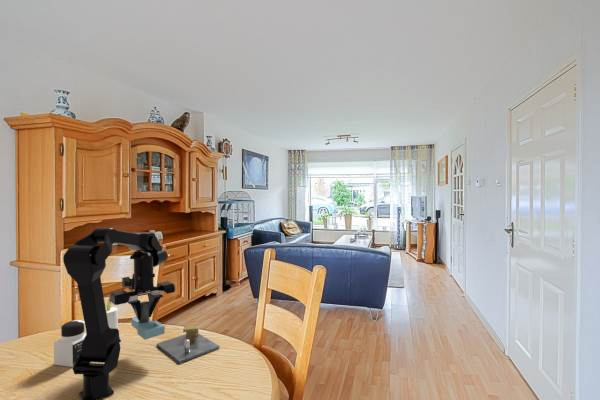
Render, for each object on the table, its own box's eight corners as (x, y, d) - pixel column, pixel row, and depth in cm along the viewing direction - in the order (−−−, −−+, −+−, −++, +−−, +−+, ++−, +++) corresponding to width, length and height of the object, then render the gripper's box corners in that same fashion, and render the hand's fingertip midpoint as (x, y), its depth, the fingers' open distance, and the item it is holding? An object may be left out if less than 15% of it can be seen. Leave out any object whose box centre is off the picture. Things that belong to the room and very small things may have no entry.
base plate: (219, 348, 110) (219, 333, 109) (179, 363, 99) (179, 348, 99) (194, 333, 121) (194, 320, 121) (156, 346, 111) (156, 332, 111)
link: (164, 333, 102) (164, 307, 102) (144, 339, 98) (144, 312, 98) (147, 321, 112) (146, 296, 112) (128, 326, 107) (128, 301, 107)
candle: (93, 341, 115) (92, 299, 115) (110, 334, 121) (110, 294, 120) (104, 344, 112) (104, 301, 112) (122, 337, 118) (121, 296, 118)
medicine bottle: (73, 367, 97) (72, 327, 97) (53, 365, 99) (53, 326, 99) (92, 356, 104) (92, 319, 104) (74, 353, 106) (73, 317, 106)
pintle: (190, 354, 105) (190, 340, 105) (186, 355, 104) (185, 341, 104) (188, 352, 106) (188, 338, 106) (183, 354, 105) (183, 340, 105)
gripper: (161, 262, 118) (162, 305, 118) (103, 271, 104) (104, 319, 105) (175, 267, 110) (176, 313, 110) (115, 277, 97) (115, 329, 97)
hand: (144, 318), depth 106 cm, fingers closed on link, 3 cm apart
